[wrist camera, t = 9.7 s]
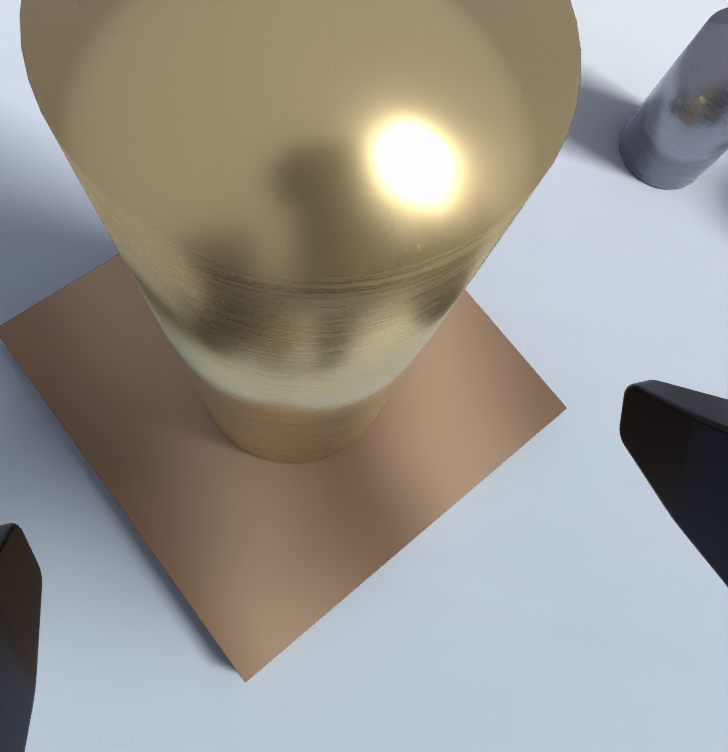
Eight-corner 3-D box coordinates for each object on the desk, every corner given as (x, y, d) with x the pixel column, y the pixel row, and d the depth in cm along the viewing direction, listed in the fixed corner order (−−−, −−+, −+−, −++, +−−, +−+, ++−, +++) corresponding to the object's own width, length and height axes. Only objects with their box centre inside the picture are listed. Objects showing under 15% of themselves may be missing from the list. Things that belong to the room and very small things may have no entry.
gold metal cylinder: (322, 501, 16) (413, 392, 5) (160, 397, 17) (-116, 59, 5) (418, 347, 18) (663, -16, 6) (268, 253, 18) (241, -266, 7)
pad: (247, 676, 16) (245, 682, 15) (7, 339, 17) (-6, 329, 17) (555, 414, 19) (566, 407, 18) (325, 144, 20) (327, 129, 19)
